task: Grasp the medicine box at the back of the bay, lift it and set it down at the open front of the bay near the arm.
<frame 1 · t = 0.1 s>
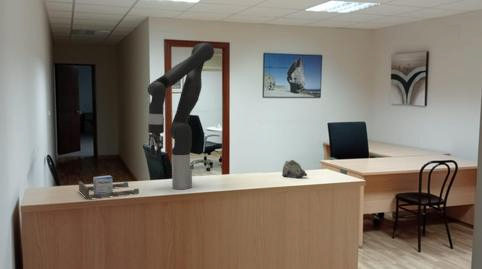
hand: (155, 156, 219), 17 cm above the table, tool pointing down, fingers open, 8 cm apart
mineral rock: (293, 177, 254), on the table
medicine box: (103, 194, 213), on the table
bay: (108, 192, 216), on the table
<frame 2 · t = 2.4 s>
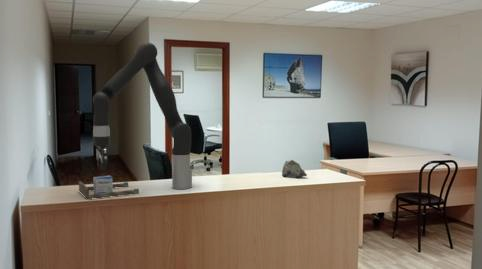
hand: (102, 169, 211), 12 cm above the table, tool pointing down, fingers open, 8 cm apart
nothing on the table moved.
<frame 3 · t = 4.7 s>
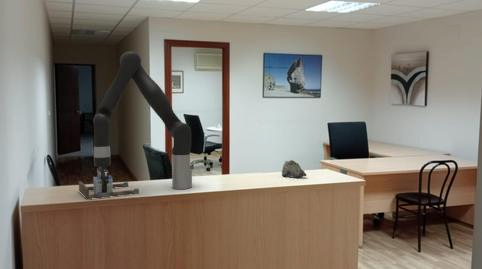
hand: (103, 190, 212), 2 cm above the table, tool pointing down, fingers closed on medicine box, 4 cm apart
medicine box: (103, 194, 213), on the table, touching gripper
everything else where it was.
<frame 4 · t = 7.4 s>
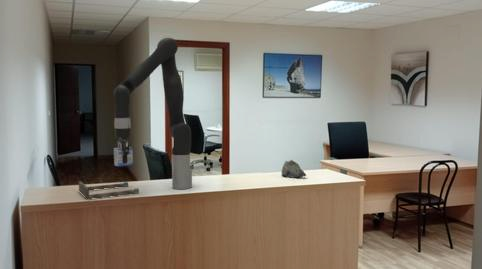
hand: (123, 162, 216), 15 cm above the table, tool pointing down, fingers closed on medicine box, 4 cm apart
medicine box: (123, 165, 216), point 13 cm above the table, touching gripper
everything else where it was.
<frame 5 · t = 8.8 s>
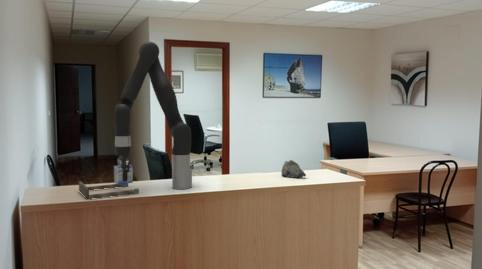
hand: (123, 179, 217), 6 cm above the table, tool pointing down, fingers closed on medicine box, 4 cm apart
medicine box: (123, 183, 217), point 4 cm above the table, touching gripper
everything else where it was.
when the fingers open (3 cm above the table, at t = 10.2 s): medicine box drops 1 cm, on the table.
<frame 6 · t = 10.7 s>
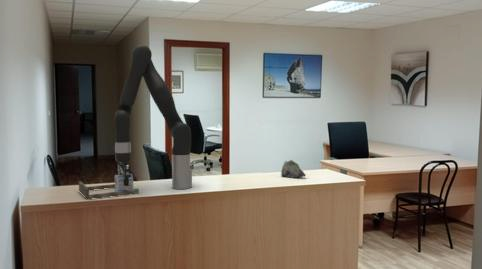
hand: (123, 184, 217), 4 cm above the table, tool pointing down, fingers open, 8 cm apart
medicine box: (124, 192, 218), on the table
everything else where it was.
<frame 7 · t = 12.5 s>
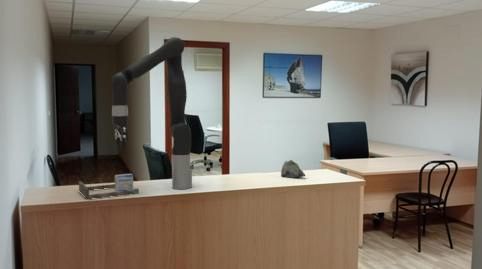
hand: (120, 148, 217), 21 cm above the table, tool pointing down, fingers open, 8 cm apart
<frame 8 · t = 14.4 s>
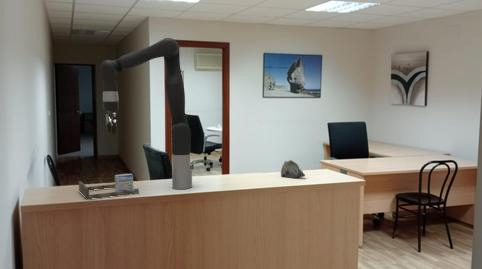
hand: (111, 132, 225), 28 cm above the table, tool pointing down, fingers open, 8 cm apart
at the end: medicine box inside the target area on the bay (1.0 cm from its centre), point 0.0 cm above the bay's base; medicine box tilted 0°; the gripper is holding nothing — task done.
